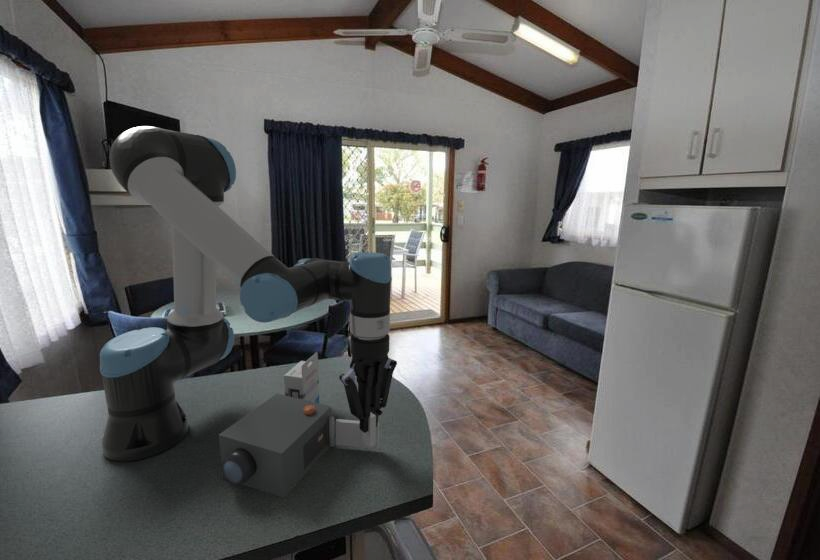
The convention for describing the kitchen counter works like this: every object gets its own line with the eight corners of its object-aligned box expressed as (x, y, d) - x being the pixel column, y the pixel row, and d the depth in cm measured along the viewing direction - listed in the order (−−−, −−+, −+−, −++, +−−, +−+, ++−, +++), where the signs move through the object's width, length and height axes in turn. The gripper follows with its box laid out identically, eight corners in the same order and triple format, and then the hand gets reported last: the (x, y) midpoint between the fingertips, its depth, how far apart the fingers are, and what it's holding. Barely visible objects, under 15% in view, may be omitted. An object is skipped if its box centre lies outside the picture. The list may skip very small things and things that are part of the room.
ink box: (302, 401, 96) (300, 348, 93) (320, 404, 95) (318, 350, 92) (285, 420, 88) (282, 363, 85) (304, 423, 87) (302, 365, 84)
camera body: (210, 487, 67) (205, 439, 65) (278, 429, 85) (276, 390, 82) (279, 511, 62) (276, 461, 60) (337, 445, 80) (336, 403, 78)
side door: (335, 445, 78) (335, 421, 77) (338, 440, 80) (337, 417, 79) (377, 448, 77) (378, 425, 76) (379, 443, 79) (379, 420, 78)
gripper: (354, 347, 64) (354, 467, 69) (407, 331, 73) (403, 437, 78) (330, 336, 69) (331, 447, 74) (382, 322, 78) (380, 422, 83)
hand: (368, 442), depth 76 cm, fingers closed
